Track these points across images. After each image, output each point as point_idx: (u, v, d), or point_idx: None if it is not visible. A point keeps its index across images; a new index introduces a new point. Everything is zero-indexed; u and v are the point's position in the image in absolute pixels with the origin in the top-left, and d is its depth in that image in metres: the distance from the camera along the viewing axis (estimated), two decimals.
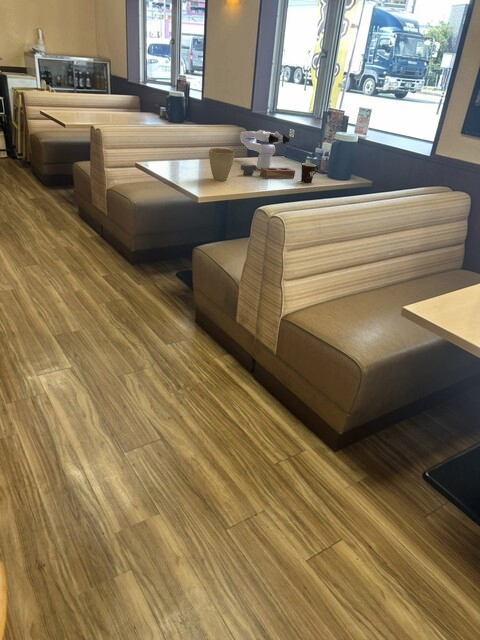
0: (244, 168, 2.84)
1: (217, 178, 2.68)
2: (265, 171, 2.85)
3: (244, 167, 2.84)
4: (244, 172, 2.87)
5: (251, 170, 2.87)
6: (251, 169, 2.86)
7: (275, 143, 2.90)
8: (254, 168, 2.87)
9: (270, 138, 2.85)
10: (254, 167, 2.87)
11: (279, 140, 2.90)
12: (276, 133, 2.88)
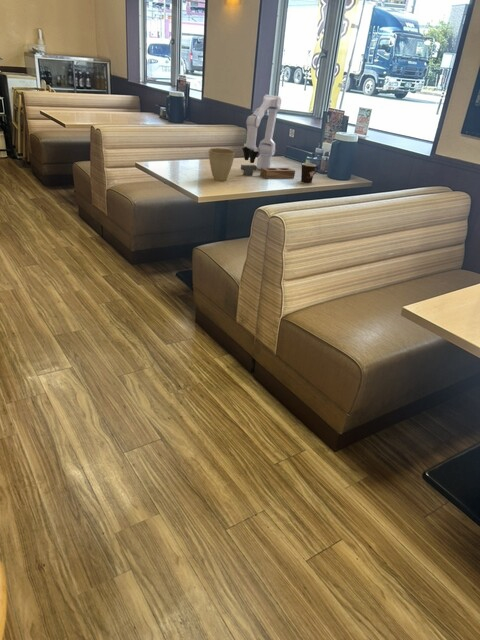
0: (244, 168, 2.84)
1: (217, 178, 2.68)
2: (265, 171, 2.85)
3: (244, 167, 2.84)
4: (244, 172, 2.87)
5: (251, 170, 2.87)
6: (251, 169, 2.86)
7: None
8: (254, 168, 2.87)
9: None
10: (254, 167, 2.87)
11: None
12: (246, 146, 2.80)
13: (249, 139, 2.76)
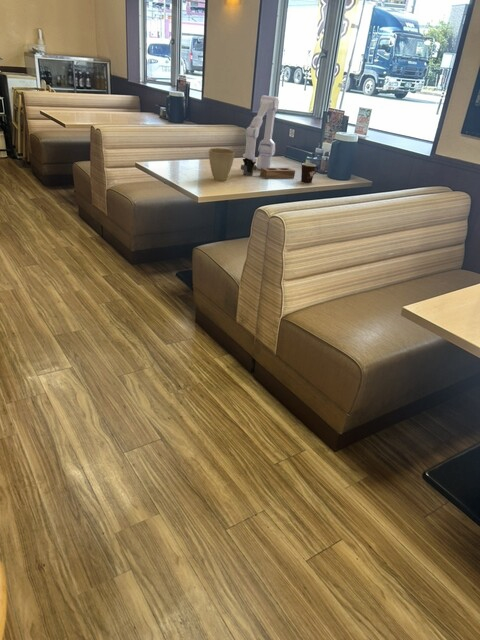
0: (244, 168, 2.84)
1: (217, 178, 2.68)
2: (265, 171, 2.85)
3: (244, 167, 2.84)
4: (244, 172, 2.87)
5: None
6: None
7: None
8: (254, 168, 2.87)
9: None
10: (254, 167, 2.87)
11: None
12: None
13: (248, 150, 2.79)
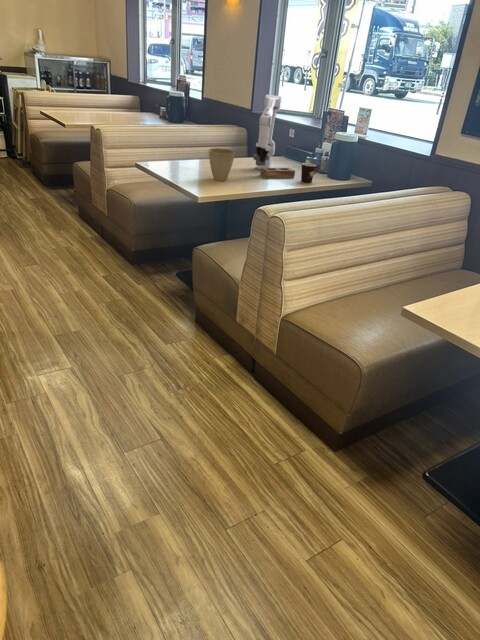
0: (256, 158, 2.82)
1: (217, 178, 2.68)
2: (265, 171, 2.85)
3: (256, 157, 2.81)
4: (256, 162, 2.85)
5: None
6: None
7: None
8: (266, 158, 2.85)
9: None
10: (266, 157, 2.84)
11: (265, 147, 2.80)
12: (258, 146, 2.80)
13: (261, 139, 2.77)
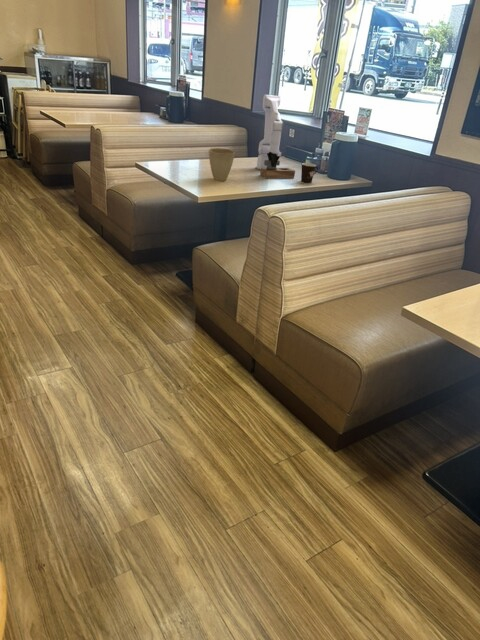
0: (268, 163, 2.84)
1: (217, 178, 2.68)
2: (265, 171, 2.85)
3: (268, 162, 2.83)
4: (267, 167, 2.87)
5: None
6: None
7: None
8: (277, 163, 2.87)
9: None
10: (277, 162, 2.86)
11: None
12: (269, 151, 2.82)
13: (273, 144, 2.79)
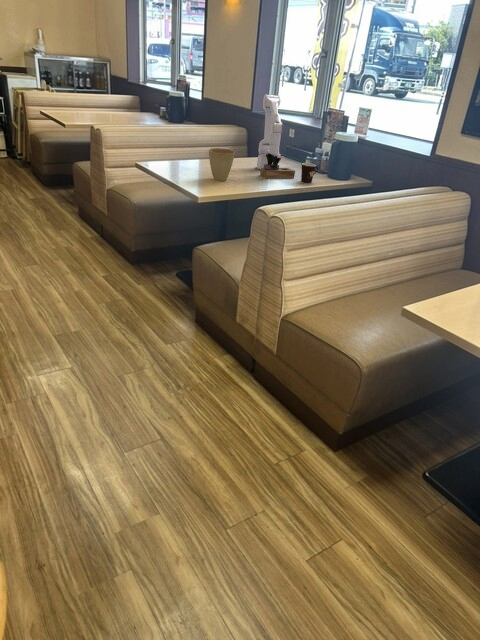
0: (267, 168, 2.85)
1: (217, 178, 2.68)
2: (265, 171, 2.85)
3: (267, 167, 2.85)
4: None
5: None
6: (274, 169, 2.87)
7: None
8: (277, 168, 2.88)
9: None
10: (277, 167, 2.88)
11: (276, 154, 2.83)
12: (269, 153, 2.83)
13: (273, 146, 2.79)
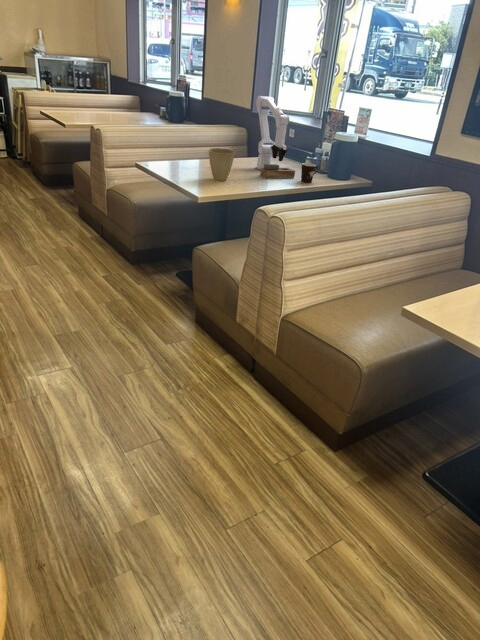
0: (267, 168, 2.85)
1: (217, 178, 2.68)
2: (265, 171, 2.85)
3: (267, 167, 2.85)
4: None
5: None
6: (274, 169, 2.87)
7: None
8: (277, 168, 2.88)
9: None
10: (277, 167, 2.88)
11: None
12: (274, 145, 2.86)
13: (278, 138, 2.83)
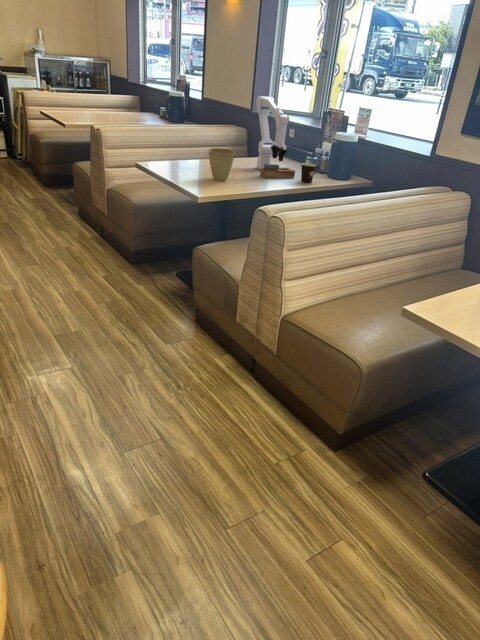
0: (267, 168, 2.85)
1: (217, 178, 2.68)
2: (265, 171, 2.85)
3: (267, 167, 2.85)
4: None
5: None
6: (274, 169, 2.87)
7: None
8: (277, 168, 2.88)
9: None
10: (277, 167, 2.88)
11: None
12: (274, 145, 2.86)
13: (278, 138, 2.83)
